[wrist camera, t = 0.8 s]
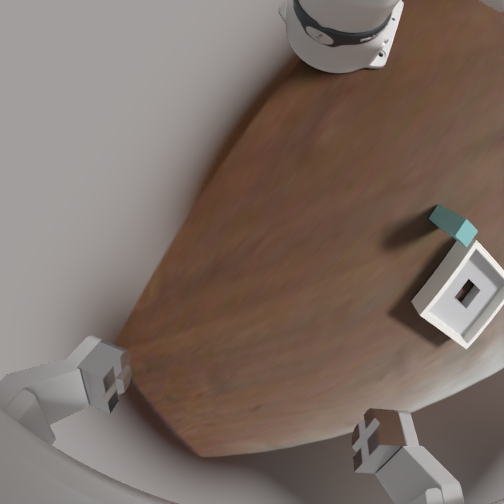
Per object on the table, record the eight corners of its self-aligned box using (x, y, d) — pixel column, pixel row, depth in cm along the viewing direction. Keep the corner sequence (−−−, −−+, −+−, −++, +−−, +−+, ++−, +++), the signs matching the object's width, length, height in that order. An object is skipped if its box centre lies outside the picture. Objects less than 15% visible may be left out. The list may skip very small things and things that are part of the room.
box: (462, 231, 43) (476, 240, 39) (504, 275, 44) (516, 286, 40) (410, 301, 49) (419, 315, 45) (457, 335, 50) (466, 349, 45)
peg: (437, 204, 43) (466, 218, 34) (449, 214, 43) (477, 230, 34) (428, 218, 44) (455, 236, 35) (439, 228, 44) (466, 247, 35)
